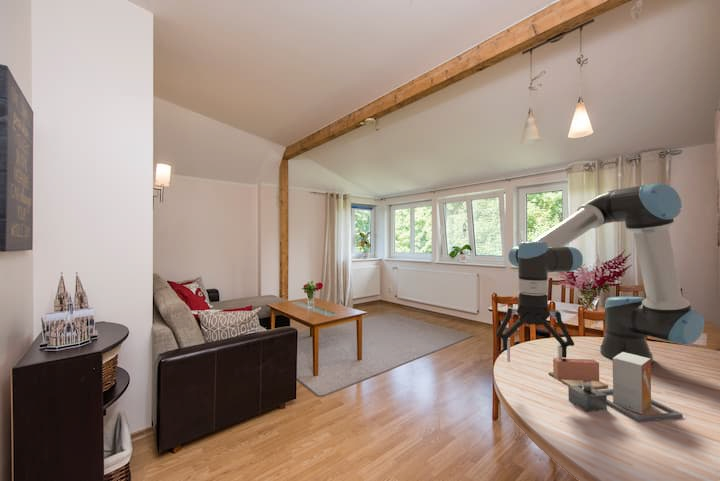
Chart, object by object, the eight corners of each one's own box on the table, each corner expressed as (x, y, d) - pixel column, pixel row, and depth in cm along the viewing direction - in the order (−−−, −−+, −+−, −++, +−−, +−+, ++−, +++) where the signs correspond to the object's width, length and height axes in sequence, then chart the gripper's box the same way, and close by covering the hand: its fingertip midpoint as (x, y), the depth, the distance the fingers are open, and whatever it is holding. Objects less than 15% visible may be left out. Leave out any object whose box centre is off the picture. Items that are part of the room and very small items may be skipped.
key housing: (587, 398, 87) (587, 383, 87) (606, 409, 81) (606, 394, 81) (568, 399, 86) (568, 385, 86) (586, 411, 80) (586, 396, 80)
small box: (643, 415, 78) (642, 365, 78) (612, 404, 83) (611, 357, 83) (652, 405, 82) (651, 358, 82) (622, 395, 88) (621, 351, 88)
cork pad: (577, 371, 104) (577, 370, 104) (607, 387, 93) (607, 385, 93) (548, 374, 102) (548, 372, 102) (575, 390, 91) (575, 388, 91)
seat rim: (627, 390, 91) (627, 387, 91) (682, 417, 77) (682, 414, 77) (588, 393, 89) (588, 391, 89) (638, 422, 75) (638, 418, 75)
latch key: (553, 386, 86) (553, 358, 86) (594, 387, 84) (593, 359, 84) (557, 390, 83) (557, 361, 83) (599, 392, 82) (599, 363, 82)
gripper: (487, 292, 91) (488, 361, 92) (586, 298, 81) (587, 377, 81) (488, 288, 98) (489, 353, 99) (580, 293, 87) (580, 366, 88)
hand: (533, 364), depth 90 cm, fingers open, 13 cm apart
